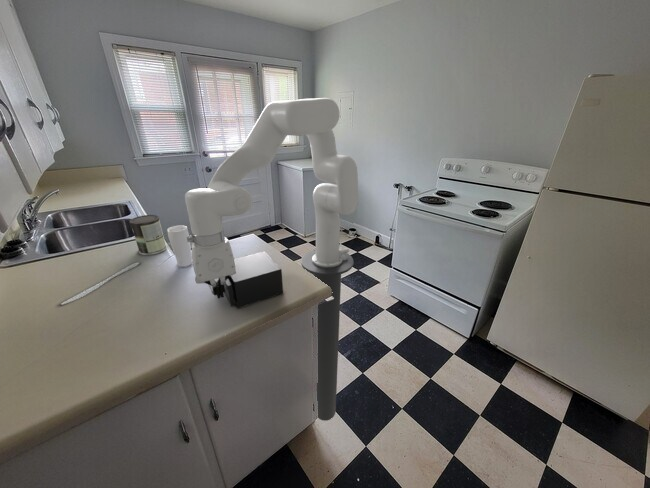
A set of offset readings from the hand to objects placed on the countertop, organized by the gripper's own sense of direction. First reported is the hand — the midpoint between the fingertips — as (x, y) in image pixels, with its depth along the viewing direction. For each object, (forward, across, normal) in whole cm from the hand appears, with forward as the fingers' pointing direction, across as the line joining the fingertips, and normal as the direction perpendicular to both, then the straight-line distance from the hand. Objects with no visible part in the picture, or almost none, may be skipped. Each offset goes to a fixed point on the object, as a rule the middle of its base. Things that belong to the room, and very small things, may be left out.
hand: (219, 295), depth 78 cm
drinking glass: (+5, -6, +36) cm, 36 cm away
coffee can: (+5, -16, +56) cm, 59 cm away
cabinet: (+5, +12, +6) cm, 14 cm away
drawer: (+4, +7, +6) cm, 10 cm away
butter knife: (+6, -31, +37) cm, 48 cm away
